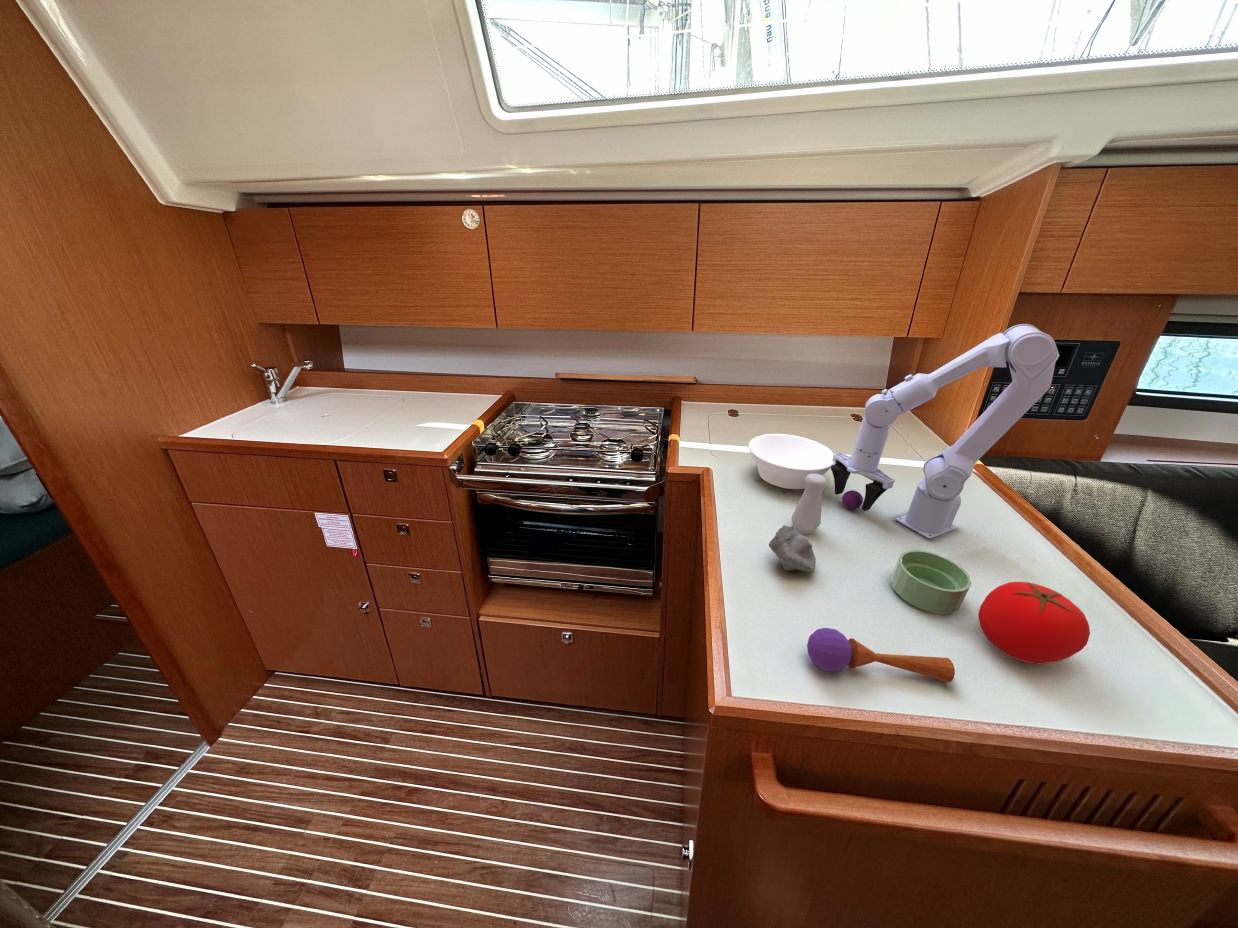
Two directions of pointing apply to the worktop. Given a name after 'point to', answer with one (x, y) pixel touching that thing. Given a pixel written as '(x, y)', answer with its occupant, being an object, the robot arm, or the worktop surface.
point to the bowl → (789, 459)
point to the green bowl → (930, 581)
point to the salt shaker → (810, 505)
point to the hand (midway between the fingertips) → (851, 501)
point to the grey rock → (793, 549)
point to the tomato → (1033, 623)
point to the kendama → (869, 656)
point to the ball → (852, 499)
